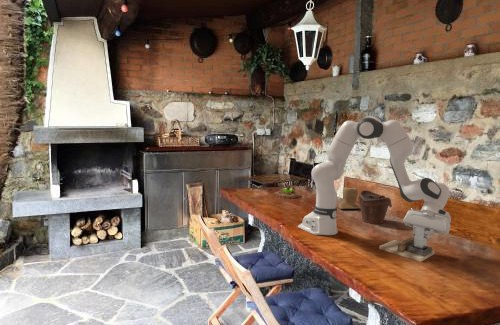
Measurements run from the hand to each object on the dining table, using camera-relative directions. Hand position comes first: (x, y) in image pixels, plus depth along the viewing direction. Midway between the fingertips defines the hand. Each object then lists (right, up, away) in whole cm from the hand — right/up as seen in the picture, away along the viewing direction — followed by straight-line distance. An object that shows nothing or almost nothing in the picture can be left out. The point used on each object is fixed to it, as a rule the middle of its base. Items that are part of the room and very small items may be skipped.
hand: (420, 236), depth 167 cm
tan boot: (-10, +2, +87) cm, 88 cm away
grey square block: (0, -5, +1) cm, 5 cm away
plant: (-49, +7, +123) cm, 132 cm away
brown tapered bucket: (-3, -2, +57) cm, 57 cm away
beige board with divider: (-4, -8, +6) cm, 11 cm away
